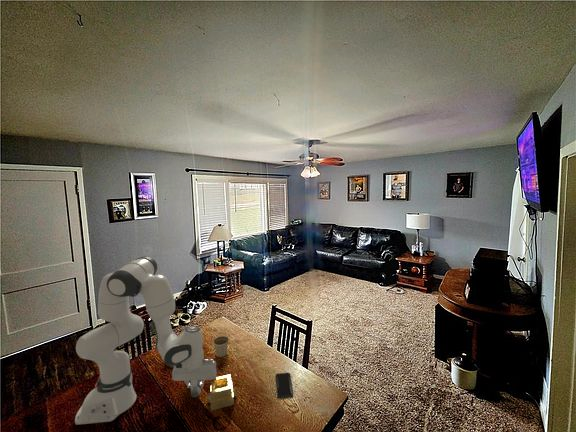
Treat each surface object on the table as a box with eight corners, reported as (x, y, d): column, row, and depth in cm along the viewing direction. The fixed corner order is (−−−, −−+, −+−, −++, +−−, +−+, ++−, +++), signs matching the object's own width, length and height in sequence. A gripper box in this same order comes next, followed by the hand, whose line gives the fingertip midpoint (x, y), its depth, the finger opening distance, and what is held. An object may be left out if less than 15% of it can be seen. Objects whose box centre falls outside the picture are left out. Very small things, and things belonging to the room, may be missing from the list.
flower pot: (222, 347, 156) (222, 334, 155) (232, 352, 151) (232, 339, 150) (210, 355, 148) (209, 341, 148) (220, 361, 143) (219, 347, 142)
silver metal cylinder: (190, 398, 117) (189, 380, 116) (191, 391, 121) (190, 374, 121) (200, 396, 119) (199, 378, 118) (200, 389, 123) (200, 372, 122)
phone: (289, 372, 132) (293, 395, 117) (290, 374, 132) (293, 397, 118) (275, 373, 132) (276, 396, 117) (275, 375, 132) (276, 399, 117)
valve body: (207, 411, 110) (206, 394, 109) (207, 394, 120) (207, 378, 119) (237, 403, 114) (236, 387, 113) (235, 387, 123) (234, 372, 123)
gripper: (217, 355, 122) (218, 381, 123) (175, 356, 121) (177, 382, 123) (214, 363, 115) (215, 391, 117) (169, 365, 115) (171, 392, 116)
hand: (195, 386), depth 120 cm, fingers closed on silver metal cylinder, 4 cm apart
